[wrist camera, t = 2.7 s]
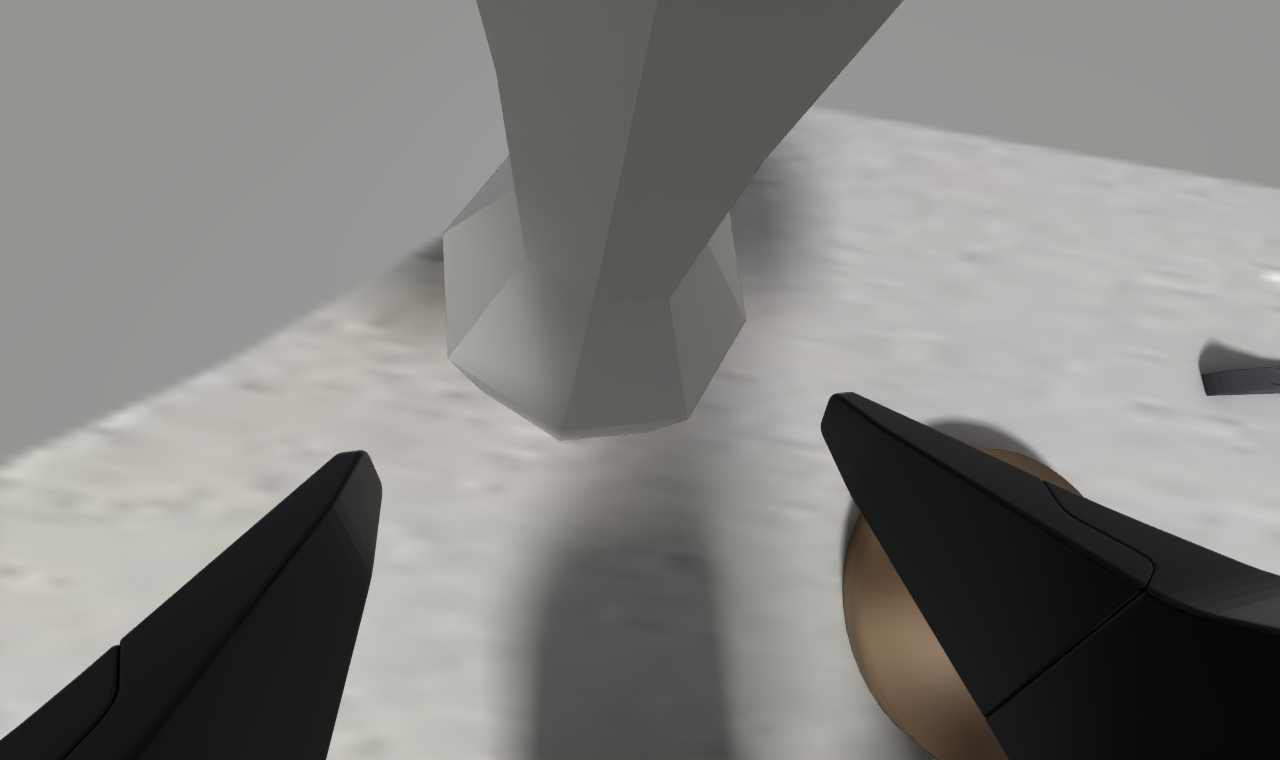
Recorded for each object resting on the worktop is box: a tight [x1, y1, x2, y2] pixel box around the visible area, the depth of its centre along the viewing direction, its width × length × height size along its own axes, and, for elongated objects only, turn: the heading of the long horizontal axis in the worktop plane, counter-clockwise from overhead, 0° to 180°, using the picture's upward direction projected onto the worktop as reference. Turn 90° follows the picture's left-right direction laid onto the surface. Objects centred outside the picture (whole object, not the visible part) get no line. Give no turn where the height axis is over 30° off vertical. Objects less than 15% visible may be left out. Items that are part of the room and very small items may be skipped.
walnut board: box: [843, 449, 1083, 760], centre depth 21 cm, size 14×14×2 cm
